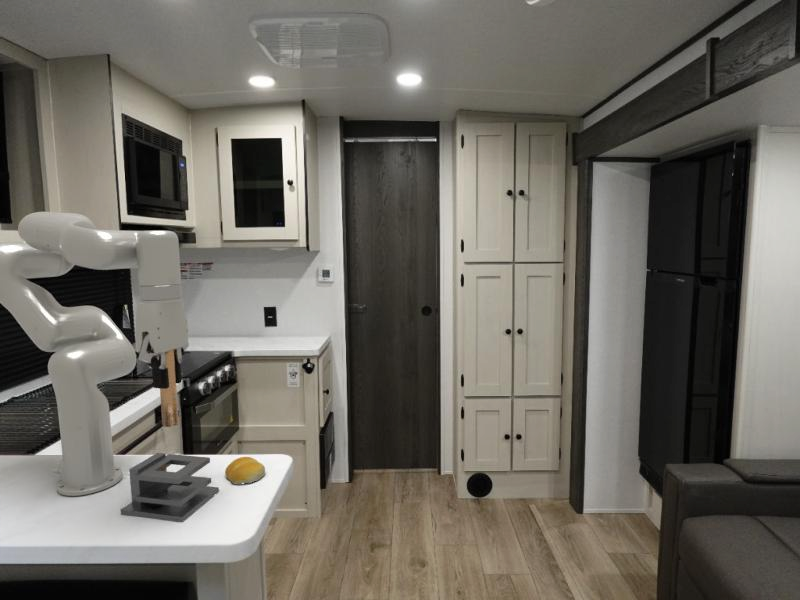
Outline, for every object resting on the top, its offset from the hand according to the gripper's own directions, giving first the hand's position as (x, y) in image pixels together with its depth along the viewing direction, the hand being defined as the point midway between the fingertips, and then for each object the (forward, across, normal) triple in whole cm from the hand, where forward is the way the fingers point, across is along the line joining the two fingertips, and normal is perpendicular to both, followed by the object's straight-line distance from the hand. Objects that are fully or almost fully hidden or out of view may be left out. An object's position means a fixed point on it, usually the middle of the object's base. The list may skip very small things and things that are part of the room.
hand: (167, 384), depth 100 cm
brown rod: (+8, 0, 0) cm, 8 cm away
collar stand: (+25, 0, 0) cm, 25 cm away
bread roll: (+25, -14, +8) cm, 30 cm away
